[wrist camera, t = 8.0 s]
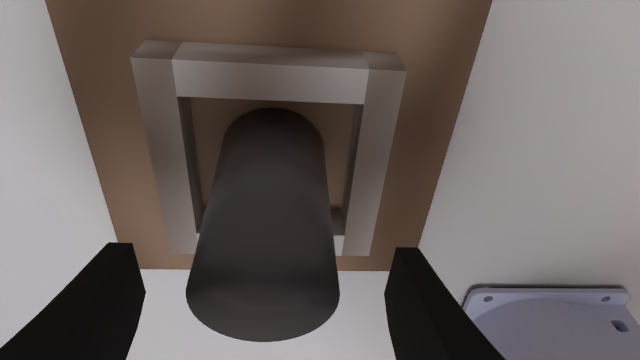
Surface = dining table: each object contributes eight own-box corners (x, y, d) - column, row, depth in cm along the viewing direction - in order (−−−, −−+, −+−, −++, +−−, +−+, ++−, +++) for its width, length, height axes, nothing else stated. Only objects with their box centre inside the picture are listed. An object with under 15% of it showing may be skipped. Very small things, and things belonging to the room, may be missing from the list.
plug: (330, 111, 16) (351, 249, 10) (317, 194, 18) (329, 343, 12) (221, 102, 15) (179, 241, 10) (223, 188, 18) (190, 340, 12)
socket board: (492, -36, 14) (524, -20, 12) (407, 259, 22) (418, 297, 20) (39, -69, 12) (-8, -57, 11) (131, 256, 21) (115, 296, 19)
